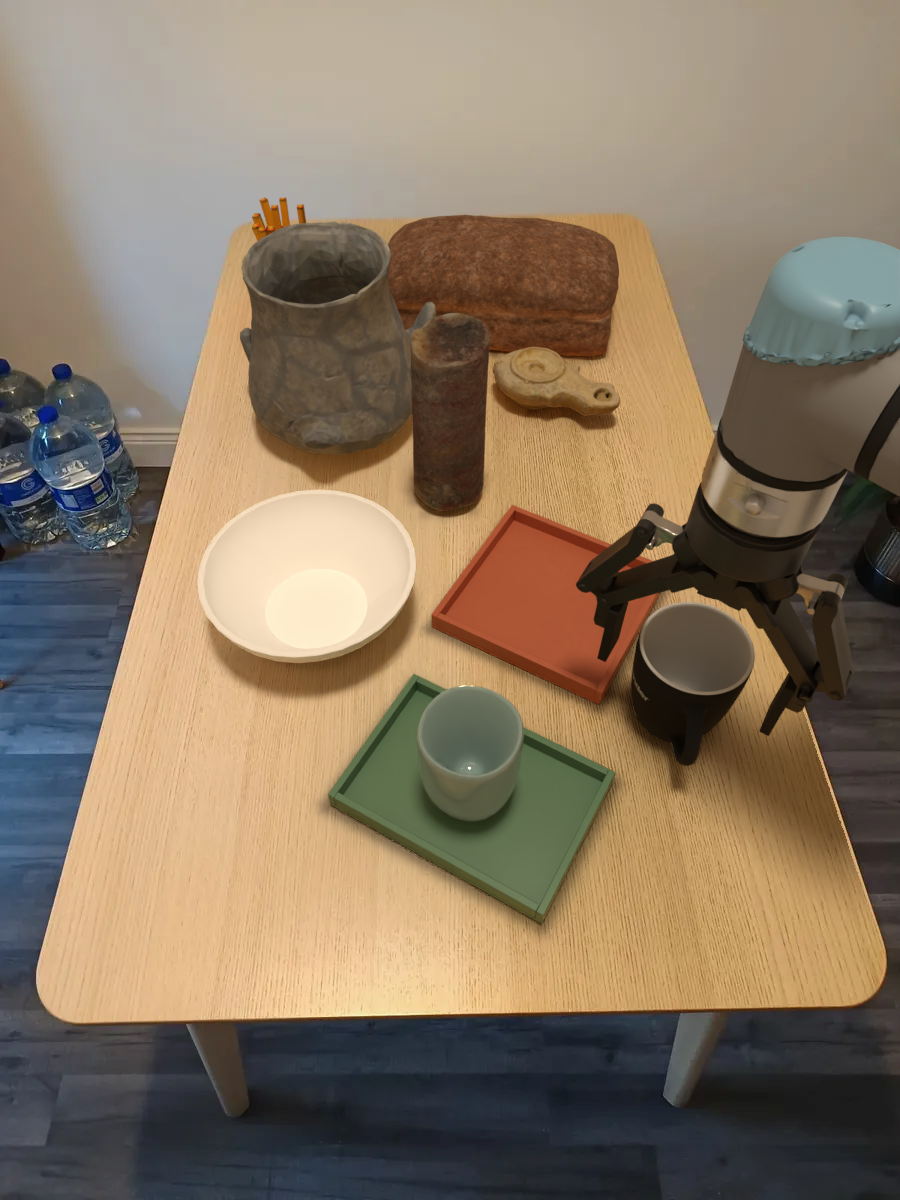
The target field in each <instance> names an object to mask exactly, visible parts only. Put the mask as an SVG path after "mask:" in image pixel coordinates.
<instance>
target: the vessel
mask: <svg viewBox="0 0 900 1200" xmlns="http://www.w3.org/2000/svg"><path fill="white" fill-rule="evenodd" d="M390 260H391V253H390V249H389V246H388V242H387V241H386V240H385V238H384V237H382V236H381V235H380V234H379V233H377V232H376V231H374V230H373V229H371V228H367V227H364V226H361V225H358V224H354V223H351V222H347V221H346V222H344V221H341V222H337V221H327V222H306V223H299V222H298V223H295V224H290V225H289V226H286V227H283V228H281V229H279V230H277V231H275V232H273V233H271V234H269V235H267V236H265V237H263V238H261V239H260V240H259V241H257V240H256V241H255V242H254V243H253V244H252V245H251V247H250V248H249V249H248V250H247V253H246V254H245V255H244V256H243V258H242V261H241V273H242V280H243V283H244V284H245V286H246V289H247V292H248V296H249V300H250V307H251V320H250V322H251V323H250V327H244V328H243V329H242V330H241V331H240V332H239V340H240V343H241V345H242V348H243V351H244V354H245V356H246V358H247V361H248V394H249V398H250V403H251V407H252V410H253V412H254V415H255V416H256V418H257V421H258V422H259V424H260V425H261V427H262V428H264V429H265V430H266V431H268V432H269V433H271V434H272V435H274V436H275V437H277V438H278V439H280V440H282V441H283V442H285V443H287V444H290V445H291V446H293V447H295V448H296V449H299V450H301V451H305V452H310V453H313V454H314V453H315V454H320V455H330V456H332V455H333V456H335V455H348V454H349V455H350V454H355V453H357V452H361V451H365V450H371V449H374V448H377V447H379V446H381V445H383V444H385V443H387V442H389V441H390V440H391V439H393V438H394V437H395V436H396V435H398V434H399V433H400V432H401V430H402V429H403V428H404V426H405V425H406V424H407V422H408V421H409V419H410V418H412V384H411V350H410V339H411V335H412V333H413V331H414V330H416V329H419V328H421V327H422V326H423V325H424V324H425V323H426V322H427V321H428V320H430V319H432V318H434V317H436V306H435V304H434V303H433V302H428V303H426V304H425V305H424V306H423V308H422V310H421V311H420V313H419V315H418V316H417V318H416V320H415V322H414V324H413V326H412V327H410V328H408V329H407V330H405V328H404V326H403V322H402V320H401V317H400V315H399V312H398V309H397V306H396V303H395V301H394V299H393V296H392V294H391V291H390V288H389V265H390Z"/></svg>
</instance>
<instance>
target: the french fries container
mask: <svg viewBox="0 0 900 1200" xmlns="http://www.w3.org/2000/svg"><path fill="white" fill-rule="evenodd" d="M258 201H259V203H260V207H261V210H262V213H263V217H264V219H265V222H266V225H265V223H264V220H263V218H262V215H261V213H260V212H256V213H253V215H252V216H251V219H252V222H253V223H252V225H251V229H252V232H253V235H254V237H255V239H256V242H257V241H259V240H260V239H261V238H263V237H265V236H267V235H269V234H271V233H273V232H275V231H277V230H279V229H281V228H283V227H286V226H289V225H291V223H290V214H289V208H288V207H289V206H288V199H287V197H279V199H278V201H279V204H271V206H270V202H269V199H268V198H267V197H263V198H260V199H259V200H258ZM296 213H297V219H298V224H299V223H307V217H306V211H305V205H304V204H297V205H296Z"/></svg>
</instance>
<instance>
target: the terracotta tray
mask: <svg viewBox="0 0 900 1200" xmlns="http://www.w3.org/2000/svg"><path fill="white" fill-rule="evenodd" d="M612 544H613V543H610V542H607V541H604V540H601V539H600V538H597V537H594V536H592V535H589V534H587V533H584V532H581V531H580V530H577V529H574V528H572V527H569V526H567V525H564V524H562V523H559V522H557V521H554V520H552V519H549V518H546V517H544V516H541V515H539V514H537V513H534V512H531V511H530V510H527V509H524V508H521V507H519V506H516V505H514V504H511V506H510V507H509V508H508V510H507V511H506V512H505V514H504V515H503V517H502V518H501V519H500V520H499V522H498V523H497V524H496V526H495V527H494V529H492V531H491V533H490V534H489V535H488V537H487V538H486V540H485V541H484V542H483V544H482V545H481V546H480V547H479V549H478V550H477V552H476V553H475V554H474V556H473V557H472V559H471V560H470V561H469V562H468V564H467V565H466V567H465V568H464V569H463V571H462V572H461V574H460V575H459V576H458V577H457V579H456V580H455V582H453V584H452V586H451V587H450V588H449V590H448V591H447V593H446V594H445V595H444V596H443V598H442V599H441V600H440V602H439V603H438V604H437V606H436V607H435V609H434V610H433V611H432V613H431V615H430V616H431V627H432V628H433V629H435V630H438V631H439V632H442V633H444V634H446V635H448V636H451V637H453V638H455V639H456V640H459V641H461V642H464V643H465V644H468V645H470V646H471V647H474V648H476V649H478V650H481V651H483V652H485V653H487V654H489V655H491V656H493V657H496V658H498V659H500V660H501V661H504V662H506V663H509V664H510V665H512V666H514V667H517V668H519V669H522V670H523V671H525V672H528V673H530V674H532V675H534V676H536V677H539V678H541V679H543V680H545V681H547V682H549V683H552V684H554V685H556V686H558V687H560V688H562V689H565V690H567V691H569V692H571V693H573V694H575V695H577V696H579V697H582V698H584V699H586V700H588V701H590V702H592V703H594V704H597V705H601V703H602V701H603V700H604V697H605V695H606V694H607V692H608V690H609V688H610V687H611V685H612V683H613V681H614V679H615V677H616V675H617V674H618V672H619V670H620V668H621V666H622V665H623V663H624V660H625V659H626V657H627V655H628V654H629V652H630V650H631V648H632V647H633V644H634V642H635V641H636V638H638V636H639V634H640V631H641V628H642V626H643V624H644V623H645V621H646V620H647V619H648V617H649V616H650V613H651V612H652V609H653V608H654V606H655V604H656V603H657V600H658V598H659V597H660V595H661V593H662V592H660V593H657V594H653V595H649V596H646V597H642V598H639V599H635V600H632V601H629V602H628V606H627V610H626V613H625V617H624V621H623V625H622V628H621V632H620V636H619V639H618V641H617V643H616V645H615V646H614V648H613V650H612V652H611V653H610V655H609V657H608V659H607V661H606V662H604V661H602V660H600V659H597V657H598V653H599V649H600V645H601V640H602V636H603V632H604V628H602V627H600V626H598V625H596V624H595V623H594V615H595V611H596V606H597V598H596V596H595V595H594V594H593V593H591V592H588V593H584V592H581V591H580V590H579V589H578V588H577V587H576V583H577V581H578V580H579V578H580V576H581V575H582V573H583V572H584V570H585V568H586V567H587V565H588V564H589V562H590V561H591V560H592V559H594V558H595V557H596V556H597V555H599V554H600V553H601V552H603V551H604V550H605V549H607V548H608V547H609V546H610V545H612ZM652 561H653V560H652V559H649V558H647V557H645V556H642V555H640V556H639V557H637V558H636V559H635V560H633V561H632V562H630V563H629V564H628V565H626V566H625V567H623V568H622V569H621V570H619V571H618V572H622V571H625V570H628V569H631V568H634V567H637V566H640V565H643V564H646V563H649V562H652Z"/></svg>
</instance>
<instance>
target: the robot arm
mask: <svg viewBox="0 0 900 1200" xmlns="http://www.w3.org/2000/svg"><path fill="white" fill-rule="evenodd" d="M765 282H766V283H765V285H764V287H763V290H762V293H761V295H760V298H759V300H758V303H757V306H756V308H755V310H754V312H753V316H752V318H751V320H750V323H748V324H747V325H746V329H745V330H744V333H743V336H742V342H743V344H742V347H741V350H740V353H739V357H738V360H737V363H736V366H735V371H734V374H733V377H732V381H731V385H730V387H729V391H728V395H727V398H726V401H725V403H724V408H723V411H722V415H721V417H720V419H719V422H718V425H717V428H716V431H715V435H714V438H713V440H712V443H711V446H710V449H709V452H708V455H707V457H706V458H707V459H706V462H705V465H704V468H703V470H702V474H701V481H700V483H699V485H698V487H697V488H696V492H695V496H694V499H693V502H692V505H691V509H690V511H689V514H688V518H687V521H686V523H684V524H682V525H679V524H677V523H676V522H673V521H671V520H669V519H667V518H665V517H664V515H665V510H664V508H663V507H662V506H661V505H660V504H658V503H654V502H653V503H649V504H648V506H646V509H645V510H644V512H643V514H642V515H641V517H640V518H639V520H638V522H637V523H636V525H634V527H632V528H630V530H628V531H627V532H626V533H624V534H623V535H622V536H620V537H619V538H618V539H617V540H615V541H614V542H613V543H611V544H612V545H610V546H609V547H608V548H607V549H605V550H604V551H603V552H601V553H600V554H599V555H597V556H596V557H595V558H594V559H592V560H591V561H590V562H589V564H588V565H587V567H586V568H585V570H584V572H583V573H582V575H581V576H580V578H579V580H578V581H577V583H576V587H577V588H578V589H579V590H580V591H581V592H584V593H588V592H591V593H593V594H594V595H595V596H596V598H597V606H596V611H595V615H594V623H595V624H596V625H598V626H600V627H602V628H604V632H603V636H602V640H601V645H600V649H599V653H598V657H597V659H600V660H602V661H604V662H606V661H607V659H608V657H609V655H610V653H611V652H612V650H613V648H614V646H615V645H616V643H617V641H618V639H619V636H620V632H621V628H622V625H623V621H624V617H625V613H626V610H627V606H628V602H629V601H632V600H635V599H639V598H642V597H646V596H649V595H653V594H657V593H660V592H661V593H663V592H667V591H669V592H670V593H672V594H673V593H674V594H675V593H678V592H682V591H685V590H688V589H693V588H694V589H695V590H696V591H697V592H696V594H698V595H699V596H703V597H705V598H707V599H711V600H716V601H719V602H721V603H723V604H724V605H725V606H727V607H729V608H731V609H733V610H736V611H738V612H741V611H742V609H743V610H746V612H747V613H748V615H749V617H750V619H751V620H752V622H753V623H754V625H755V627H756V628H757V629H758V630H763V631H764V633H765V635H766V636H767V638H768V640H769V642H770V644H771V645H772V647H773V649H774V650H775V652H776V653H777V656H778V657H779V659H780V661H781V662H782V664H783V665H784V668H785V669H786V671H787V672H788V673H787V674H786V676H785V677H784V679H783V681H782V683H781V685H780V687H779V689H778V690H777V692H776V694H775V695H774V696H773V699H772V700H771V702H770V704H769V706H768V709H767V711H766V712H765V715H764V718H763V721H762V723H761V725H760V727H759V731H758V733H760V734H762V735H764V736H767V737H769V736H770V734H771V733H772V731H773V730H774V728H775V726H776V724H777V723H778V721H779V720H780V718H781V716H782V714H784V711H785V710H786V709H787V710H789V711H791V712H793V713H796V714H799V713H800V712H803V710H804V708H805V707H806V705H807V704H808V703H811V702H812V701H813V700H814V697H815V693H825V694H826V696H827V697H828V698H829V699H831V700H833V701H836V702H840V701H841V702H842V701H843V700H844V699H845V698H846V695H847V692H848V690H849V687H850V683H851V680H852V678H853V675H854V671H855V670H854V665H853V659H852V654H851V647H850V642H849V636H848V632H847V627H846V620H845V615H844V609H843V604H842V603H843V602H842V599H843V597H844V593H845V591H846V588H847V585H848V579H847V578H846V576H845V575H843V574H841V573H831V574H829V575H828V577H827V578H826V580H825V579H822V578H819V577H816V576H812V575H810V574H806V573H804V570H803V567H802V565H803V564H802V563H803V562H804V560H805V558H806V556H807V554H808V552H809V550H810V549H811V546H812V544H813V541H814V540H815V537H816V536H817V533H818V531H819V530H820V528H821V525H822V522H823V520H824V519H825V517H826V516H827V514H828V512H829V510H830V508H831V506H832V504H833V502H834V500H835V498H836V496H837V494H838V492H839V490H840V488H841V486H842V484H843V482H844V480H845V478H846V476H847V474H848V472H851V473H852V474H855V475H857V476H859V477H861V478H862V479H865V480H866V481H868V482H869V481H870V482H871V483H874V484H876V485H877V486H879V487H880V488H882V489H884V490H887V491H888V492H889V493H892V494H893V495H896V496H898V497H899V498H900V249H898V248H897V247H895V246H893V245H890V244H887V243H884V242H881V241H877V240H874V239H868V238H863V237H856V236H841V235H839V236H828V237H821V238H816V239H812V240H808V241H806V242H803V243H801V244H799V245H797V246H796V247H794V248H792V249H790V250H789V251H788V252H786V253H784V254H783V255H782V256H781V257H780V258H779V259H778V260H777V262H776V263H775V264H774V266H773V267H772V269H771V270H770V273H769V275H768V277H767V279H766V281H765ZM665 543H666V544H671V549H672V551H673V553H672V554H670V555H668V556H665V557H661V558H659V559H655V560H652V562H649V563H646V564H643V565H640V566H637V567H634V568H631V569H628V570H625V571H622V572H618V571H619V570H621V569H622V568H623V567H625V566H626V565H628V564H629V563H630V562H632V561H633V560H635V559H636V558H637V557H639V556H642V554H643V553H644V551H645V549H646V550H648V551H652V550H654V548H657V547H660V546H661V545H662V544H665ZM661 593H660V594H661ZM795 594H797V595H799V596H801V598H803V600H804V605H805V607H806V614H808V615H809V616H812V622H811V626H812V627H811V628H812V632H813V637H814V643H815V644H814V643H813V642H812V639H811V637H810V635H809V634H808V632H807V630H806V628H805V626H804V625H803V623H802V621H801V620H800V618H799V615H798V614H797V612H796V611H795V608H794V607H793V605H792V604H791V603H792V602H791V599H790V598H791V597H793V596H794V595H795Z"/></svg>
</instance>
